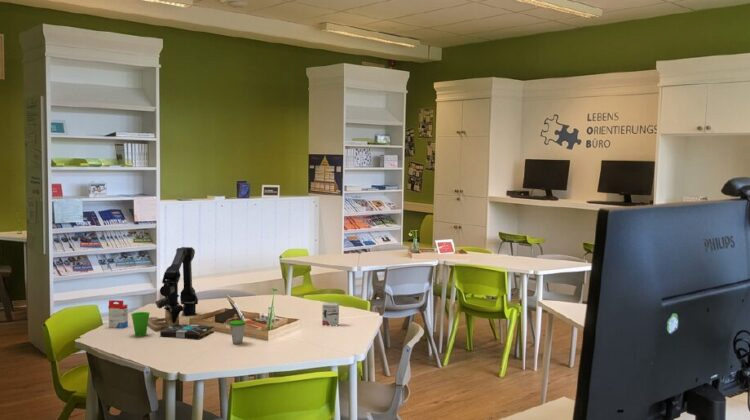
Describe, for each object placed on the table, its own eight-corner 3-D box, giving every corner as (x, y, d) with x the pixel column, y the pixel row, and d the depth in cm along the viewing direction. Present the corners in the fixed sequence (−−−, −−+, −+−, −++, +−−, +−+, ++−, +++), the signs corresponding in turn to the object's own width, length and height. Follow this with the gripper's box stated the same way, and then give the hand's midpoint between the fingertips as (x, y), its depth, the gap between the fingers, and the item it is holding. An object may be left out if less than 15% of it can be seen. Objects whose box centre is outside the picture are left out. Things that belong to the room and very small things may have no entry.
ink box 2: (322, 325, 360) (322, 304, 359) (323, 323, 365) (323, 302, 364) (337, 326, 359) (337, 304, 358) (338, 324, 364) (339, 302, 363)
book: (159, 337, 331) (159, 327, 331) (176, 329, 348) (176, 320, 348) (199, 340, 327) (199, 330, 326) (214, 332, 343) (214, 323, 343)
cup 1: (154, 334, 336) (153, 312, 336) (140, 338, 328) (140, 316, 327) (140, 332, 340) (140, 311, 339) (127, 336, 332) (126, 314, 331)
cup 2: (227, 341, 323) (227, 311, 322) (243, 340, 326) (243, 310, 326) (231, 345, 316) (231, 314, 315) (247, 344, 319) (247, 313, 318)
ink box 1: (128, 326, 353) (127, 299, 352) (123, 328, 348) (123, 300, 347) (112, 325, 354) (112, 298, 353) (108, 327, 349) (108, 300, 348)
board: (156, 320, 367) (156, 316, 367) (170, 329, 347) (170, 325, 347) (141, 322, 363) (141, 318, 363) (155, 331, 342) (155, 327, 342)
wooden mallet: (176, 324, 359) (176, 309, 358) (179, 325, 355) (179, 311, 354) (151, 326, 351) (150, 312, 351) (153, 328, 347) (153, 313, 347)
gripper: (151, 291, 357) (152, 320, 358) (162, 297, 342) (162, 327, 343) (172, 289, 364) (172, 318, 364) (183, 295, 348) (183, 324, 349)
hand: (172, 321), depth 355 cm, fingers closed on wooden mallet, 5 cm apart
